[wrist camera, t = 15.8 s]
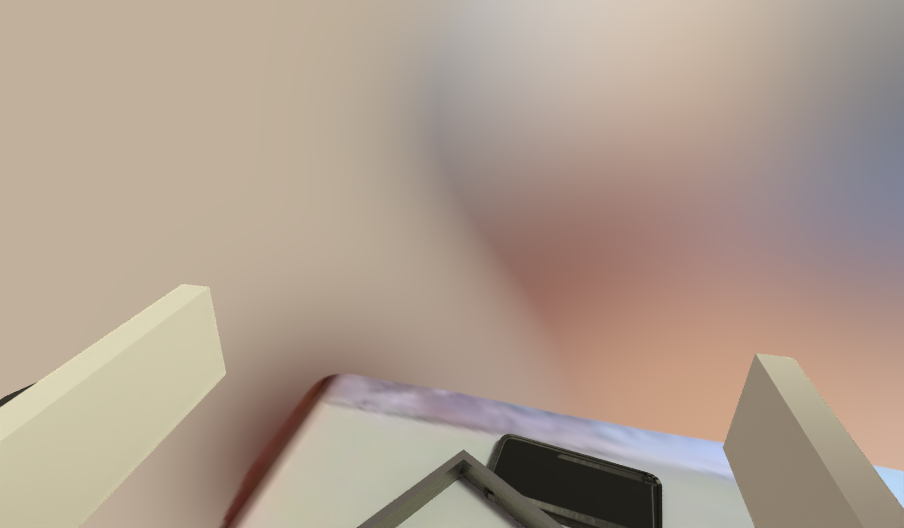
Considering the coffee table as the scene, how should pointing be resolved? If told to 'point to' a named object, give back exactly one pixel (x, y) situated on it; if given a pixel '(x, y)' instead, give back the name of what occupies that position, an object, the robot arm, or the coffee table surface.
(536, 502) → the phone
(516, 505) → the holder frame
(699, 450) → the coffee table surface
